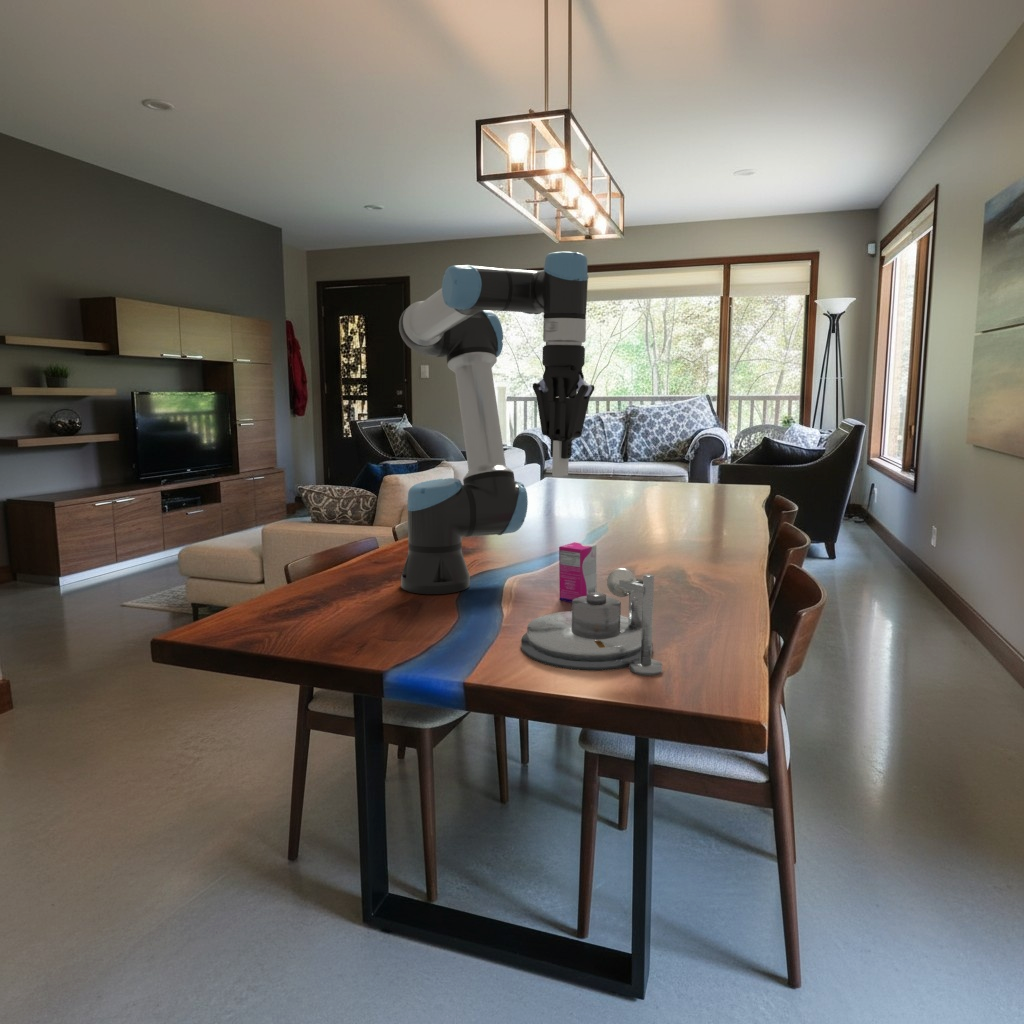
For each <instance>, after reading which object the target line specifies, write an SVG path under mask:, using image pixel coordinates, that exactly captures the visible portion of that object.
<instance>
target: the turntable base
mask: <svg viewBox="0 0 1024 1024" xmlns="http://www.w3.org/2000/svg"><path fill="white" fill-rule="evenodd" d="M520 641H521V643H520V645H521V646H520V647H521V648H520V649H521V651H522V652H523V653H524V655H526V656H527V657H528V658H530V659H531V660H534V661H536V662H538V663H539V664H544V665H545V666H546V665H547V666H551V667H553V668H554V667H555V668H559V669H565V670H571V671H573V670H574V671H584V672H585V671H586V672H588V671H592V672H594V671H595V672H596V671H597V672H599V671H600V672H601V671H613V670H614V671H615V670H621V669H625V668H629V664H630V661H631V660H634V659H638V658H641V651H640V652H638V653H636V654H634V655H631V656H628V657H624V658H618V659H611V660H575V659H567V658H561V657H556V656H552V655H549V654H546V653H543V652H540V651H538V650H536V649H535V648H533V647H532V646H531V645H530V644H529V643H528V641H527V632H525V633H524V634H523V636H522V637H521V640H520ZM653 646H654V643H652V653H651V656H652V654H653V652H654V651H653V649H654V647H653Z"/></svg>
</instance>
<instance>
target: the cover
mask: <svg viewBox="0 0 1024 1024" xmlns="http://www.w3.org/2000/svg"><path fill="white" fill-rule="evenodd" d="M571 611H572V633H573V634H575V635H577V636H580V637H583V638H589V639H607V638H613V637H616V636H618V635H619V634H620V615H621V616H622V614H621V613H622V604H621V601H620V600H619V599H617V598H614V597H610V596H607V594H606V593H604V592H597V593H596V592H595V593H588V594H587V596H582V597H578V598H575V599H573V600H572V602H571Z"/></svg>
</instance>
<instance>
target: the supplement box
mask: <svg viewBox="0 0 1024 1024" xmlns="http://www.w3.org/2000/svg"><path fill="white" fill-rule="evenodd" d="M558 552H559V553H558V555H559V556H558V558H559V559H558V565H559V568H558V569H559V573H558V575H559V576H558V577H559V579H558V581H559V582H558V583H559V584H558V585H559V600H560V601H564V602H569V603H572V600H573V599H575V598H578V597H582V596H587V594H588V593H595V592H596V593H598V592H597V588H598V587H597V584H598V583H597V544H590V543H581V542H570V543H567V544H565V545H564V544H563V545H560V546H559V547H558Z"/></svg>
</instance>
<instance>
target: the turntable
mask: <svg viewBox="0 0 1024 1024" xmlns="http://www.w3.org/2000/svg"><path fill="white" fill-rule="evenodd" d="M636 583H640V584H643V579H640V578H636ZM642 602H643V593H642V592H638V591H633V592H632V593H630V594H629V595H628V616H624V615H622V614H621V615H620V634H619V635H618V636H616V637H613V638H607V639H589V638H583V637H580V636H577V635H575V634H573V633H572V610H571V611H569V610H568V611H560V612H553V613H548V614H543V615H541V616H538V617H536V618H534V619H532V620H531V621H530V622H528V624H527V626H526V627H527V629H526V630H527V631H526V633H527V641H528V643H529V644H530V645H531V646H532V647H533V648H535V649H536V650H538V651H540V652H543V653H546V654H549V655H552V656H556V657H561V658H567V659H575V660H611V659H618V658H624V657H628V656H631V655H634V654H636V653H638V652H640V651H641V635H642Z"/></svg>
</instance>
